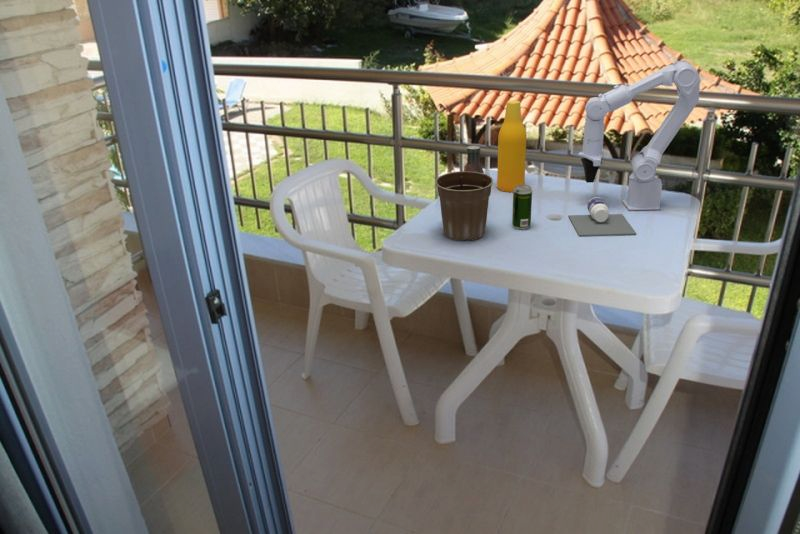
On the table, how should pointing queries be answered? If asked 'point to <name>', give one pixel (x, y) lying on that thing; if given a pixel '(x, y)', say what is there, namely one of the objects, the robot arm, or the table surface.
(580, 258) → the table surface
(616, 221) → the mat
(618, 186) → the table surface
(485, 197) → the plant pot
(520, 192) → the beer can
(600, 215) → the pill bottle
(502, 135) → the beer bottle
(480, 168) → the sauce bottle
